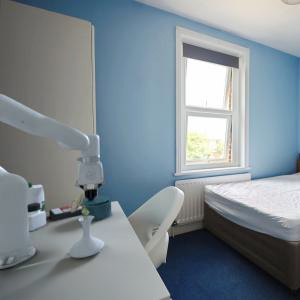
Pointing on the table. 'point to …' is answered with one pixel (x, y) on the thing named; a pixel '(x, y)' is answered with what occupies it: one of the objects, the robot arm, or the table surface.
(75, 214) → the calculator
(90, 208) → the tin
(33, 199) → the milk carton
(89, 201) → the lid
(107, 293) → the table surface
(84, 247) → the flower in vase
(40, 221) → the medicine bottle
